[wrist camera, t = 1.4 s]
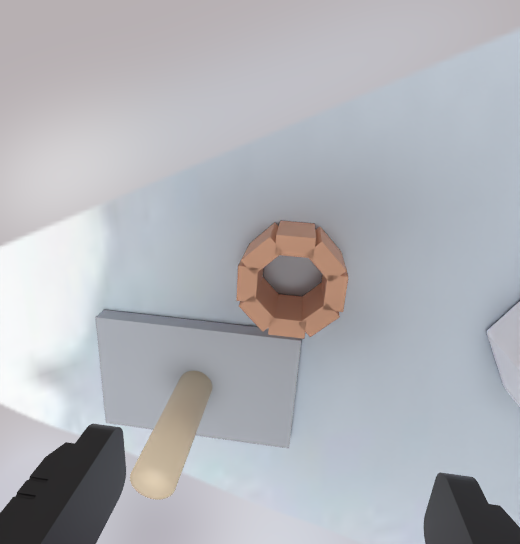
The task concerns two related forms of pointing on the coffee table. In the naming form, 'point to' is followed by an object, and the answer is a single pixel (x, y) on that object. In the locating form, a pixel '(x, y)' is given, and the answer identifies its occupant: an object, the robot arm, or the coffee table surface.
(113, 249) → the coffee table surface
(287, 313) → the ring
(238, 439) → the post block
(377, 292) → the coffee table surface
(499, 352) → the jar
